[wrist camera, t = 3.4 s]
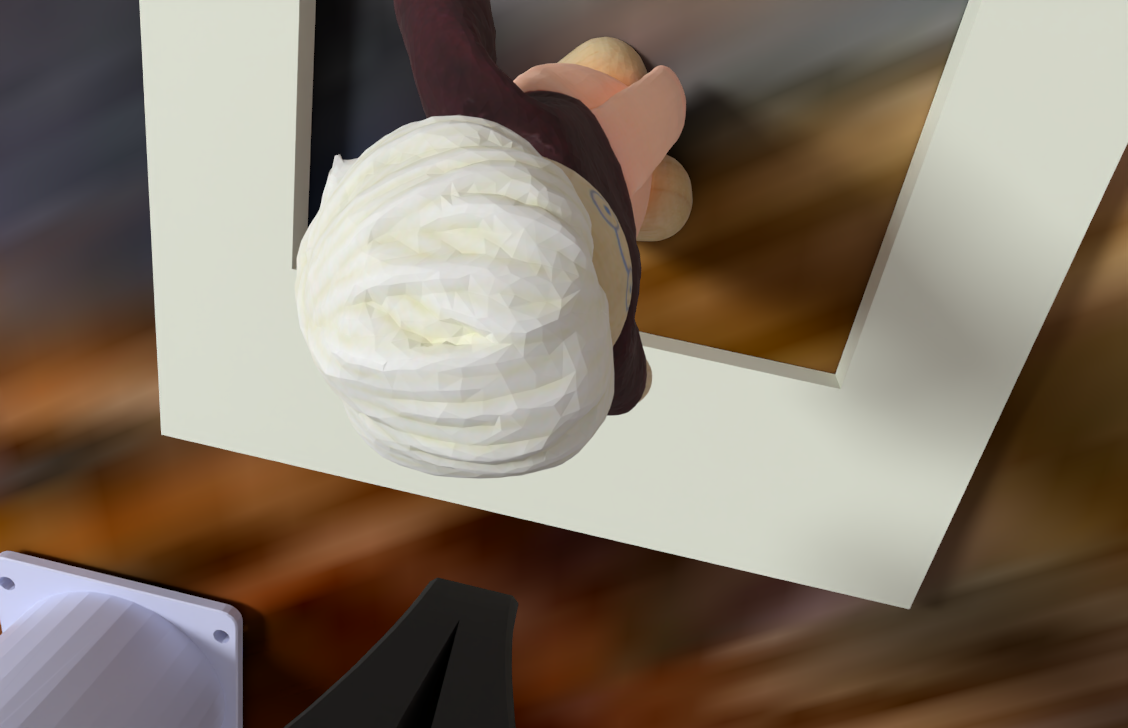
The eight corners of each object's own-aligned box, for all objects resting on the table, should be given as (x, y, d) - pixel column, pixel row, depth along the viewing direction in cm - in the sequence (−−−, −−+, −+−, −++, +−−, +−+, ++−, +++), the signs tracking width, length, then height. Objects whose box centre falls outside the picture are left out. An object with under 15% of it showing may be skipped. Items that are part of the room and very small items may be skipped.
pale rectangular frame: (902, 588, 21) (909, 609, 21) (178, 420, 22) (161, 434, 22) (1281, -242, 14) (1313, -256, 13) (144, -434, 15) (116, -456, 14)
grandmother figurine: (767, 229, 18) (895, 639, 7) (620, 311, 19) (511, 774, 8) (579, -101, 16) (282, -349, 4) (428, 16, 17) (-104, 58, 6)
